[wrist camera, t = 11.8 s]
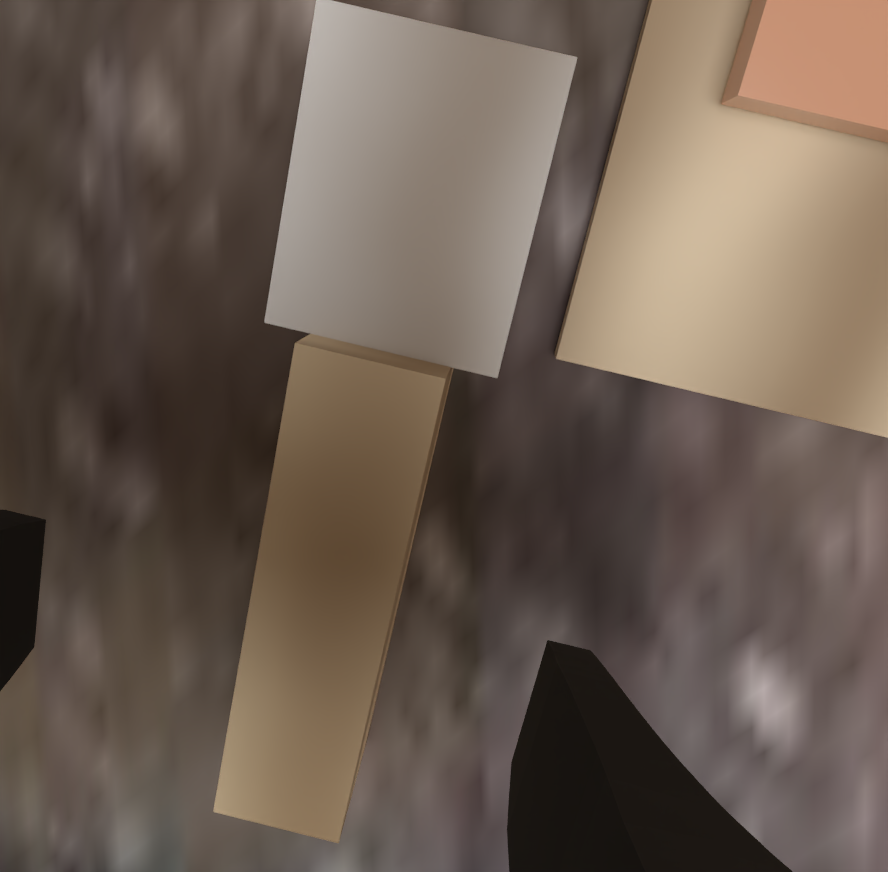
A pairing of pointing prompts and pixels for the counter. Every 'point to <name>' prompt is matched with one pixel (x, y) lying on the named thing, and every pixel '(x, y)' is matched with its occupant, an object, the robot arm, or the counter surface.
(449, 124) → the turner
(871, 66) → the tile
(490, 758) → the counter surface
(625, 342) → the cork mat
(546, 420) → the counter surface
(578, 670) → the robot arm
